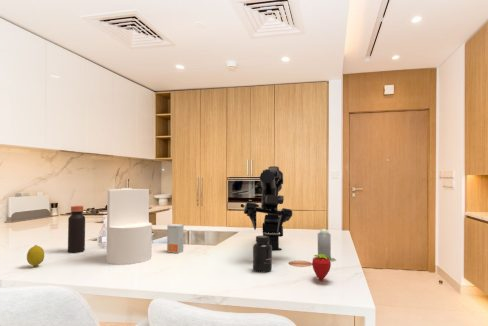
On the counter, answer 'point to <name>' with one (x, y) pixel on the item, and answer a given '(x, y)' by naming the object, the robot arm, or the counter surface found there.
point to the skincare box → (175, 238)
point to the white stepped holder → (128, 226)
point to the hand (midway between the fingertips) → (266, 231)
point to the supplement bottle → (262, 254)
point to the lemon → (35, 255)
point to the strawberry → (321, 266)
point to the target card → (304, 263)
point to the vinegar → (76, 230)
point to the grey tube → (324, 243)
